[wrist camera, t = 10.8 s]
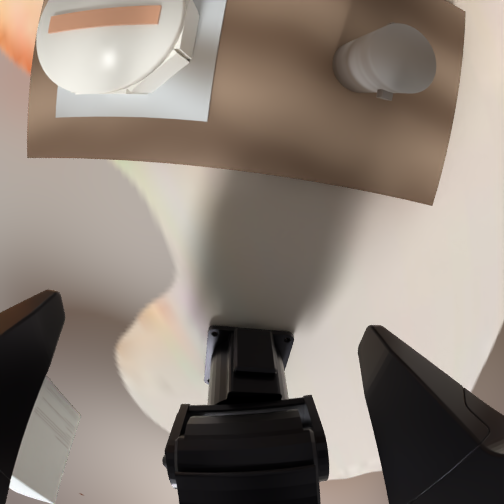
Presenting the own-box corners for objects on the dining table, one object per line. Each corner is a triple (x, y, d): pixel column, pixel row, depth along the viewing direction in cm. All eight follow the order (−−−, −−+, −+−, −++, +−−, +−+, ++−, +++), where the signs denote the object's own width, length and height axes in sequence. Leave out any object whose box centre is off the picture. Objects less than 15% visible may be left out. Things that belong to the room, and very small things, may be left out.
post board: (421, 198, 20) (482, 241, 13) (39, 153, 17) (-29, 182, 11) (452, 14, 13) (520, 1, 7) (67, -39, 11) (11, -71, 5)
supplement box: (8, 374, 27) (-33, 455, 16) (48, 374, 26) (5, 471, 15) (42, 413, 30) (12, 492, 19) (84, 416, 30) (56, 506, 18)
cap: (206, -17, 12) (195, -53, 8) (186, 96, 15) (166, 94, 10) (91, -11, 11) (51, -35, 7) (73, 94, 14) (25, 98, 10)
